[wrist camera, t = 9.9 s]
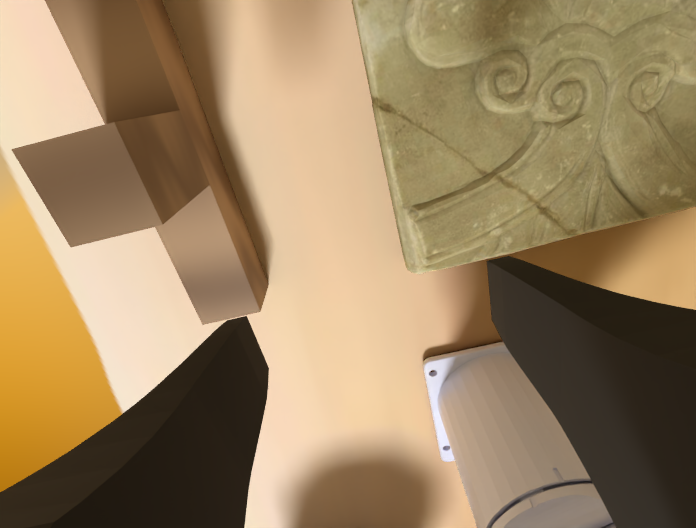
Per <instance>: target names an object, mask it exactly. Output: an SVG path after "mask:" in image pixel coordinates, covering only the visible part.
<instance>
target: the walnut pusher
mask: <svg viewBox="0 0 696 528" xmlns="http://www.w3.org/2000/svg"><path fill="white" fill-rule="evenodd" d="M45 1H46V4H47V6H48V8H49V10H50V12H51V14H52V16H53V18H54V20H55V22H56V24H57V26H58V28H59V30H60V32H61V34H62V36H63V38H64V41H65V43H66V45H67V47H68V49H69V51H70V53H71V55H72V57H73V59H74V61H75V63H76V65H77V67H78V69H79V71H80V73H81V75H82V78H83V80H84V82H85V84H86V86H87V88H88V90H89V92H90V94H91V96H92V98H93V100H94V102H95V104H96V106H97V108H98V110H99V112H100V115H101V117H102V119H103V121H104V123H105V125H102V126H98V127H94V128H91V129H87V130H83V131H79V132H75V133H72V134H68V135H64V136H60V137H57V138H53V139H49V140H45V141H42V142H38V143H34V144H30V145H26V146H23V147H19V148H15V149H12V151H13V153H14V154H15V156H16V158H17V159H18V161H19V163H20V164H21V166H22V168H23V169H24V171H25V173H26V174H27V176H28V178H29V179H30V181H31V183H32V184H33V186H34V188H35V189H36V191H37V192H38V194H39V196H40V197H41V199H42V201H43V202H44V204H45V206H46V207H47V209H48V211H49V212H50V214H51V216H52V217H53V219H54V221H55V222H56V224H57V226H58V227H59V229H60V231H61V232H62V234H63V235H64V237H65V239H66V240H67V242H68V244H69V245H70V247H74V246H78V245H82V244H86V243H91V242H95V241H99V240H103V239H107V238H111V237H115V236H119V235H123V234H127V233H131V232H135V231H139V230H144V229H148V228H152V227H155V228H156V230H157V232H158V234H159V236H160V238H161V240H162V242H163V244H164V246H165V248H166V250H167V252H168V254H169V256H170V258H171V261H172V263H173V265H174V267H175V269H176V271H177V273H178V275H179V277H180V279H181V281H182V283H183V285H184V287H185V289H186V291H187V293H188V295H189V298H190V300H191V302H192V304H193V306H194V308H195V310H196V312H197V314H198V316H199V318H200V320H201V322H202V324H203V325H204V324H208V323H212V322H217V321H221V320H226V319H230V318H235V317H239V316H243V315H248V314H252V313H257V312H260V311H261V308H262V305H263V301H264V298H265V295H266V291H267V288H268V282H267V279H266V277H265V274H264V271H263V269H262V266H261V263H260V261H259V258H258V255H257V253H256V250H255V247H254V245H253V242H252V239H251V237H250V234H249V231H248V229H247V226H246V223H245V221H244V218H243V215H242V213H241V210H240V207H239V205H238V202H237V199H236V197H235V194H234V191H233V189H232V186H231V183H230V181H229V178H228V175H227V173H226V170H225V167H224V165H223V162H222V159H221V157H220V154H219V151H218V149H217V146H216V143H215V141H214V138H213V135H212V133H211V130H210V127H209V125H208V122H207V119H206V117H205V114H204V111H203V109H202V106H201V103H200V101H199V98H198V95H197V93H196V90H195V87H194V85H193V82H192V79H191V77H190V74H189V71H188V69H187V66H186V63H185V61H184V58H183V55H182V53H181V50H180V47H179V45H178V42H177V39H176V37H175V34H174V31H173V29H172V26H171V23H170V21H169V18H168V15H167V13H166V10H165V7H164V5H163V2H162V0H45Z"/></svg>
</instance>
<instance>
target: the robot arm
mask: <svg viewBox="0 0 696 528" xmlns="http://www.w3.org/2000/svg"><path fill="white" fill-rule="evenodd" d="M487 269H488V280H489V292H490V304H491V315H492V321H493V323H494V325H495V327H496V329H497V331H498V333H499V335H500V337H501V338H502V340H503V342H499V343H494V344H490V345H485V346H480V347H476V348H471V349H466V350H462V351H457V352H453V353H448V354H443V355H439V356H434V357H429V358H427V359H425V360H424V362H423V369H424V374H425V380H426V385H427V390H428V395H429V400H430V405H431V410H432V416H433V421H434V426H435V431H436V436H437V441H438V446H439V451H440V456H441V459H442V460H443V461H445V462H450V461H455V462H456V465H457V468H458V471H459V474H460V477H461V480H462V483H463V486H464V489H465V492H466V495H467V498H468V501H469V505H470V508H471V511H472V514H473V517H474V520H475V523H476V526H477V528H696V310H693V309H687V308H681V307H676V306H671V305H666V304H661V303H656V302H652V301H648V300H644V299H639V298H635V297H631V296H627V295H623V294H619V293H616V292H612V291H609V290H605V289H602V288H599V287H596V286H592V285H589V284H586V283H583V282H580V281H577V280H574V279H571V278H568V277H565V276H563V275H560V274H557V273H554V272H552V271H549V270H546V269H544V268H541V267H538V266H536V265H533V264H530V263H528V262H525V261H522V260H519V259H516V258H513V257H510V256H507V257H502V258H498V259H494V260H489V261H487ZM432 370H435V371H434V372H430V371H432ZM268 373H269V368H268V365H267V363H266V361H265V358H264V356H263V354H262V351H261V349H260V347H259V344H258V342H257V339H256V337H255V335H254V332H253V330H252V328H251V325H250V323H249V321H248V318H247V316H245V317H240V318H236V319H232V320H227V321H226V322H225V323H223V324H222V325H221V326H220V327H219V328H218V329H217V330H215V331H214V332H213V333H212V334H211V335H210V336H209V337H208V338H207V339H206V340H205V341H204V342H203V343H202V344H201V345H200V346H199V347H198V348H197V349H196V350H195V351H194V352H193V353H192V354H191V355H190V356H189V357H188V358H187V359H186V360H185V361H184V362H183V363H181V364H180V365H179V366H178V367H177V368H176V369H175V370H174V371H173V372H172V373H171V374H169V375H168V376H167V377H166V378H165V379H164V380H163V381H162V382H161V383H160V384H158V385H157V386H156V387H155V388H154V389H153V390H152V391H151V392H149V393H148V394H147V395H146V396H145V397H143V398H142V399H141V400H140V401H139V402H137V403H136V404H135V405H134V406H132V407H131V408H130V409H128V410H127V411H126V412H124V413H123V414H122V415H121V416H119V417H118V418H117V419H115V420H114V421H113V422H111V423H110V424H108V425H107V426H106V427H104V428H103V429H101V430H100V431H98V432H97V433H96V434H94V435H93V436H91V437H90V438H88V439H87V440H85V441H84V442H82V443H81V444H79V445H78V446H77V447H75V448H74V449H72V450H71V451H69V452H68V453H66V454H64V455H63V456H61V457H60V458H58V459H56V460H55V461H53V462H52V463H50V464H48V465H47V466H45V467H43V468H42V469H40V470H38V471H37V472H35V473H33V474H32V475H30V476H28V477H27V478H25V479H23V480H22V481H20V482H18V483H16V484H14V485H13V486H11V487H9V488H7V489H6V490H4V491H2V492H0V528H244V525H245V516H246V507H247V498H248V489H249V482H250V477H251V471H252V466H253V462H254V457H255V452H256V448H257V443H258V438H259V434H260V429H261V425H262V420H263V415H264V410H265V405H266V400H267V390H268Z"/></svg>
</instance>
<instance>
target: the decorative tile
mask: <svg viewBox="0 0 696 528" xmlns="http://www.w3.org/2000/svg"><path fill="white" fill-rule="evenodd" d="M352 4H353V9H354V14H355V19H356V24H357V29H358V34H359V39H360V44H361V49H362V54H363V59H364V64H365V69H366V74H367V79H368V84H369V89H370V93H371V98H372V103H373V104H372V106H373V111H374V116H375V121H376V126H377V131H378V136H379V142H380V146H381V151H382V156H383V161H384V166H385V170H386V175H387V180H388V185H389V190H390V195H391V199H392V204H393V209H394V214H395V219H396V224H397V228H398V233H399V238H400V243H401V247H402V252H403V257H404V261H405V264H406V267H407V269H408V270H409V271H411V272H412V273H416V274H422V273H426V272H429V271H435V270H443V269H447V268H452V267H456V266H460V265H464V264H468V263H472V262H476V261H481V260H485V259H489V258H494V257H498V256H502V255H507V254H511V253H515V252H518V251H522V250H526V249H529V248H533V247H537V246H540V245H544V244H548V243H552V242H556V241H560V240H564V239H568V238H572V237H575V236H578V235H581V234H586V233H590V232H595V231H599V230H604V229H608V228H612V227H616V226H621V225H625V224H629V223H633V222H637V221H641V220H646V219H650V218H654V217H658V216H662V215H666V214H670V213H674V212H678V211H682V210H686V209H689V208H692V207H696V0H352Z"/></svg>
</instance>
